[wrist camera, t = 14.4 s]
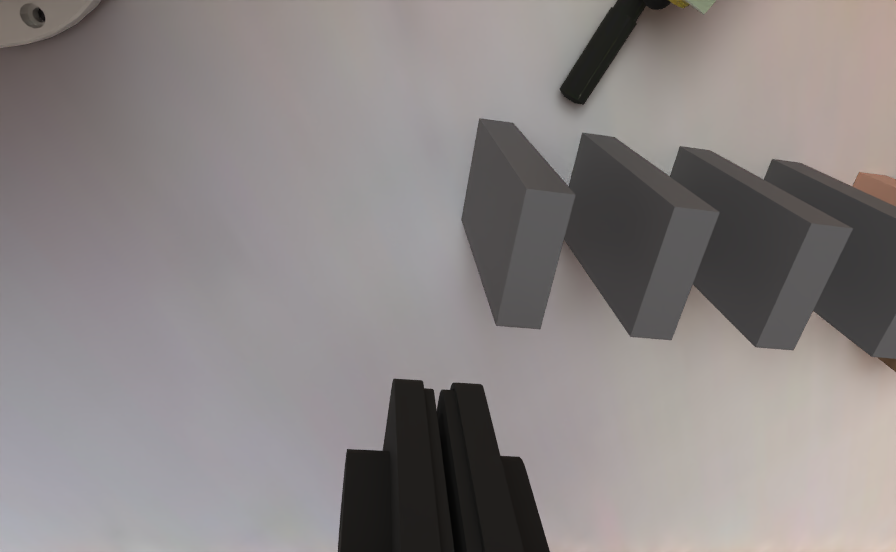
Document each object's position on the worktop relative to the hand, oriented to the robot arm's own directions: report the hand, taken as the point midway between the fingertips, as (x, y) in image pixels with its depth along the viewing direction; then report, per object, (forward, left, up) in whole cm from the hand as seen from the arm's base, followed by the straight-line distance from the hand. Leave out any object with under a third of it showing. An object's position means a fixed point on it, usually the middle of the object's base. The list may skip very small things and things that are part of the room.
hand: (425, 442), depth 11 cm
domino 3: (+14, 0, -19) cm, 23 cm away
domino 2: (+9, 0, -19) cm, 21 cm away
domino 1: (+4, 0, -19) cm, 19 cm away
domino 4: (+19, 0, -19) cm, 27 cm away
